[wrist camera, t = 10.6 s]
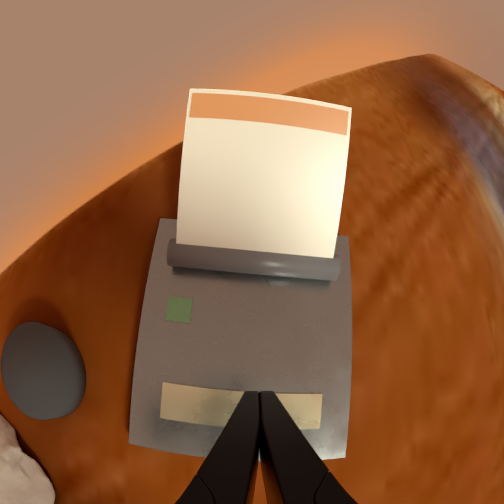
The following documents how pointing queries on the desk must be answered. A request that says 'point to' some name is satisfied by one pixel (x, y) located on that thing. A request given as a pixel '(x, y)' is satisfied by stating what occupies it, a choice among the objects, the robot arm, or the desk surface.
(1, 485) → the decorative stone
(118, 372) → the desk surface
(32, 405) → the grey river pebble
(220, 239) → the bowl
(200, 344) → the grey flat slab
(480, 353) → the desk surface
